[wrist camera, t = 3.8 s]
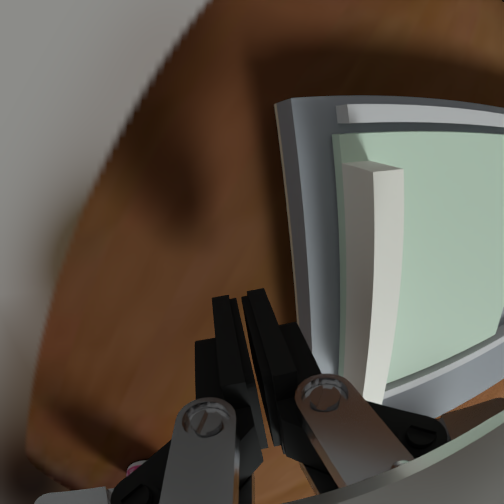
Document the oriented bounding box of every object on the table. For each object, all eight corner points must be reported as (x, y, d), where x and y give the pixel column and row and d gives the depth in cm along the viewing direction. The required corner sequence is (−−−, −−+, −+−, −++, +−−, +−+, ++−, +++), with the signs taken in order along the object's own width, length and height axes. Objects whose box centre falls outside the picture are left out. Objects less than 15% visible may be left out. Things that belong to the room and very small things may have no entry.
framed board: (554, 121, 13) (586, 128, 10) (518, 343, 21) (538, 362, 18) (273, 103, 11) (299, 95, 8) (303, 437, 19) (316, 475, 16)
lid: (515, 135, 11) (555, 143, 8) (489, 329, 15) (515, 351, 13) (331, 134, 10) (370, 137, 7) (337, 390, 14) (357, 429, 12)
